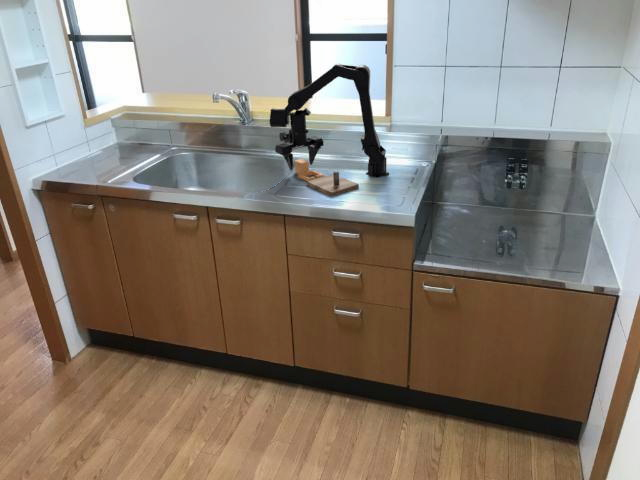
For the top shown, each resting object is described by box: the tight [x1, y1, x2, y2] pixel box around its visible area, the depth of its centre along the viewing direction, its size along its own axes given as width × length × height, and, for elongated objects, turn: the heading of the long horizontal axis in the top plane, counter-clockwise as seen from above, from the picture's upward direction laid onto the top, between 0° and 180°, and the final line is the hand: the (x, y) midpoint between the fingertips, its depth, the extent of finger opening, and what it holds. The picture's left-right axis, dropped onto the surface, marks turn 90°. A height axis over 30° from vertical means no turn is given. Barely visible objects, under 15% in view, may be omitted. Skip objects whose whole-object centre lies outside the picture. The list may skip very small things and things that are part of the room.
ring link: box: [294, 158, 325, 182], centre depth 196 cm, size 12×7×5 cm, turn 36°
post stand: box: [306, 171, 360, 197], centre depth 184 cm, size 15×12×6 cm
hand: (301, 167), depth 199 cm, fingers open, 9 cm apart
